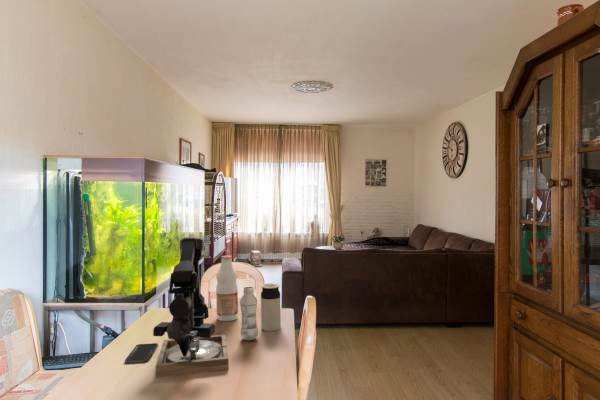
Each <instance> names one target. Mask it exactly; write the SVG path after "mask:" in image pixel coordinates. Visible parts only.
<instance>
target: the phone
mask: <svg viewBox="0 0 600 400" xmlns="http://www.w3.org/2000/svg"><path fill="white" fill-rule="evenodd" d="M158 347H159V343H157V342H154V343H139V344H137V345H135V346H134V348H133V349H132V350H131V352H130V353H129V354H128V355H127V356H126V358H125V359H124V364H125V363H127V364H130V363H131V364H143V363H148V362H150V360H151V358H152V357H153V355H154V354H155V352H156V350H157V349H158ZM127 364H126V365H127Z"/></svg>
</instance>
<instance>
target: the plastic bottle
mask: <svg viewBox="0 0 600 400" xmlns="http://www.w3.org/2000/svg"><path fill="white" fill-rule="evenodd" d="M239 305H240V312H241V327H240V332H239V333H240V338H241V339H242V340H244V341H253V340H256V339H257V337H258V335H259V331H258V325H257V307H258V306H257V305H258V300H257V297H256V296H255V295H254V286H244V287H243V295H242V296H241V298H240V300H239Z"/></svg>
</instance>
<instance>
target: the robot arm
mask: <svg viewBox="0 0 600 400" xmlns="http://www.w3.org/2000/svg"><path fill="white" fill-rule="evenodd" d="M204 250H205V241H204V240H203V239H201V237H200V238H198V237H196V236H195V237H189V236H188V237H184V238H182V239H180V240H179V251H180V252H181V253H180V257H179V262H178V263H177V264H176V265H175V266H174V267H173V270H172V272H171V273H170V278H169V279H170V281H169V290H168V291H169V292H168V294H172V295H173V299H172V300H171V302H170V303H169V306H168V310H169V313H170V314H171V316H172V320H171V321H170V322H168V321H164V322H163V321H162V322H159V323H158V324H157V325H155V326H154V327H153V329H152V336H153V337H163V336H164V335H165V334H166V333H167V338H168V340H170V339H174V340H175V341H177V343H178V345H179V347H180V350H181V352H182V354H183V357H185V356H186V355H187V353H188V350H189V347H190V344H191V342H192V340H193V338H194V337H200V338H209V337H211V336H213V335H214V333H215V332H216V325H215V324H214V323H208V322H206V323H205V321H204V320H207V319H208V318H209V317H210V316H209V307H208V305H207V303H206V301H205V297H204V295H202V293H201V281H200V277H201V276H200V259H201V258H202V255H203V251H204Z"/></svg>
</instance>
